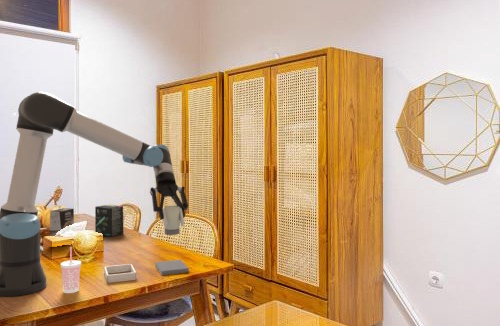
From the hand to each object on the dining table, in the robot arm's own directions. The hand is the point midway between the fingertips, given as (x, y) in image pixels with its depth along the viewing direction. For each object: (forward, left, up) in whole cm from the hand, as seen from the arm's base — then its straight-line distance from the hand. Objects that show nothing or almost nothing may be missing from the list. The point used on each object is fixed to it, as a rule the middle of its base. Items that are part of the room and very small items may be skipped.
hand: (174, 225), depth 155 cm
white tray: (-19, +2, -17) cm, 26 cm away
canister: (0, +4, -4) cm, 5 cm away
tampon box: (-16, +73, -18) cm, 76 cm away
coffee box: (-38, +59, -18) cm, 72 cm away
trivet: (0, +4, -17) cm, 18 cm away
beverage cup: (-35, -7, -18) cm, 40 cm away
